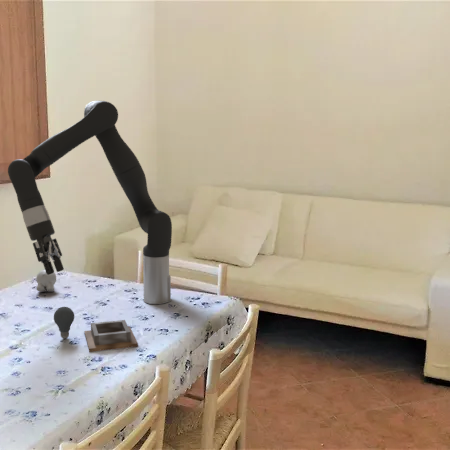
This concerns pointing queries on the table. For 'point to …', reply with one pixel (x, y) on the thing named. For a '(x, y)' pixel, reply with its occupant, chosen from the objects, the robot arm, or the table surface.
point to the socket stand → (110, 336)
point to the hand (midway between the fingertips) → (55, 272)
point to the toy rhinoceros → (45, 281)
